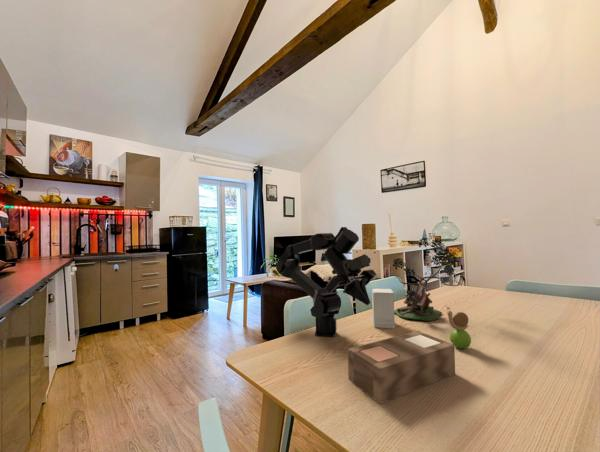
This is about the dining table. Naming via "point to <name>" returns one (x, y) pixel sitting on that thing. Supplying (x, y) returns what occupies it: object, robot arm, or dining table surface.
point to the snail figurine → (459, 329)
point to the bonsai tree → (423, 287)
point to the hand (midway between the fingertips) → (368, 304)
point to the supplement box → (383, 308)
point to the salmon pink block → (379, 354)
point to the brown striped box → (400, 366)
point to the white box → (422, 341)
